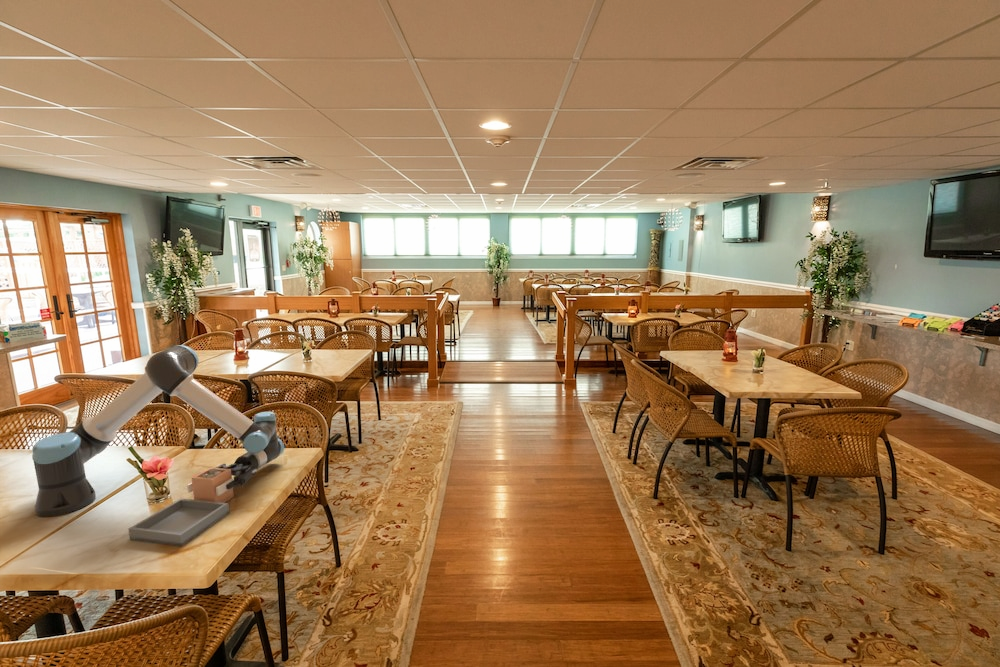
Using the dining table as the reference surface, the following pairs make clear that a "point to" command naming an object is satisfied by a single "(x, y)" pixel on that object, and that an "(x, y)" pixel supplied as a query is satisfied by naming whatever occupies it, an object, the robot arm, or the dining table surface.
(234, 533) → the dining table surface
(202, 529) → the slate dish
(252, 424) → the robot arm
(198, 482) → the peach box
